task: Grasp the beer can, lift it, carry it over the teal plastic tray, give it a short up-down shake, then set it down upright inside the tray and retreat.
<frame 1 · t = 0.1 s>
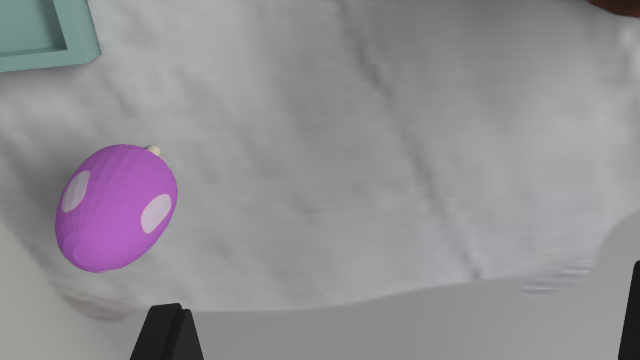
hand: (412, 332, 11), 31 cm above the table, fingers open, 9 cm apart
toy: (154, 150, 43), on the table
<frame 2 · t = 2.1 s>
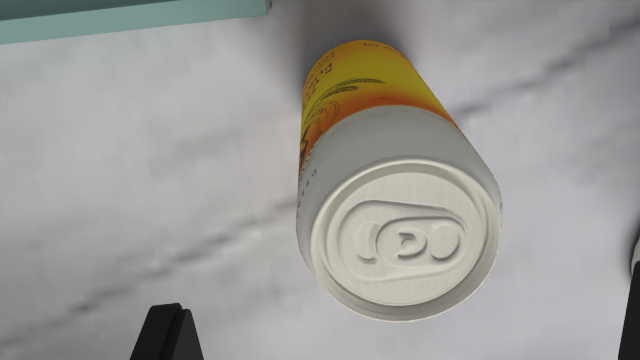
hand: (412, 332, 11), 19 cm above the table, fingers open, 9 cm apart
beer can: (359, 94, 29), on the table
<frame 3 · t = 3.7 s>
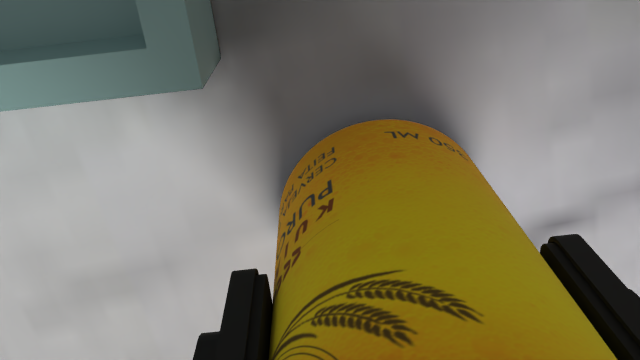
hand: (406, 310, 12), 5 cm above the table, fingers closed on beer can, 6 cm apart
beer can: (377, 200, 17), on the table, touching gripper
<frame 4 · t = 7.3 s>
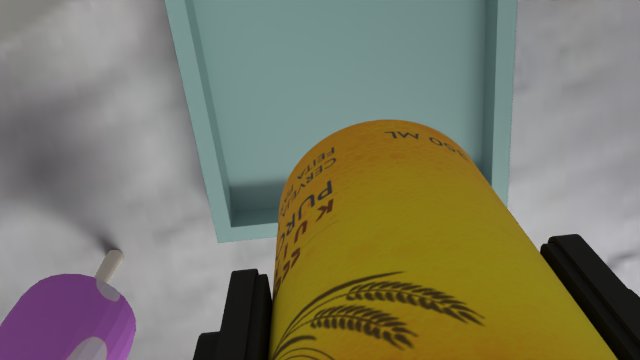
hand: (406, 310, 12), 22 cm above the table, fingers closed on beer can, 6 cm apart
toy: (116, 255, 37), on the table
beer can: (377, 200, 17), point 17 cm above the table, touching gripper
tray: (345, 73, 32), on the table
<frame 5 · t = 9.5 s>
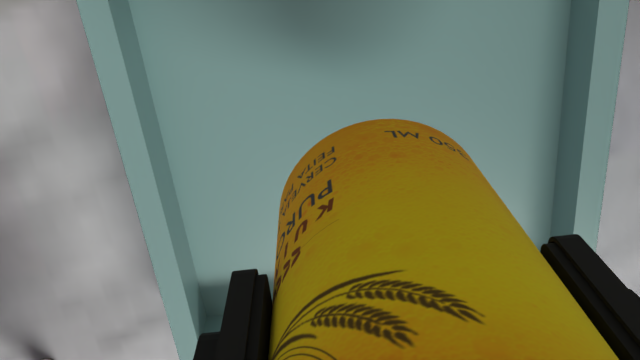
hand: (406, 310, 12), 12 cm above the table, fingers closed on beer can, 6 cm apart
beer can: (377, 200, 17), point 6 cm above the table, touching gripper
tray: (360, 132, 23), on the table
when the fingers open (6 cm above the table, at t = 11.1 s): beer can stays where it is, resting on tray.
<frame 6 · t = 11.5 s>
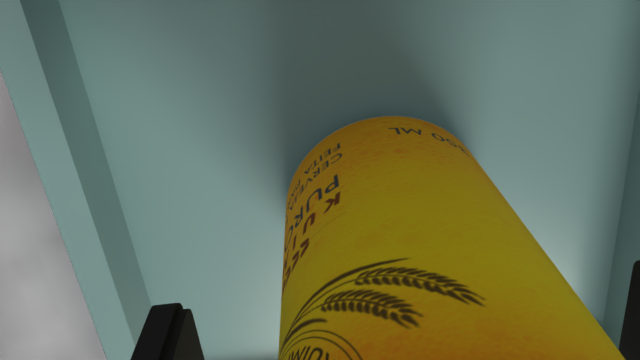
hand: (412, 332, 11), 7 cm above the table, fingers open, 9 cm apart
beer can: (381, 195, 17), point 1 cm above the table, touching tray
tray: (371, 182, 18), on the table
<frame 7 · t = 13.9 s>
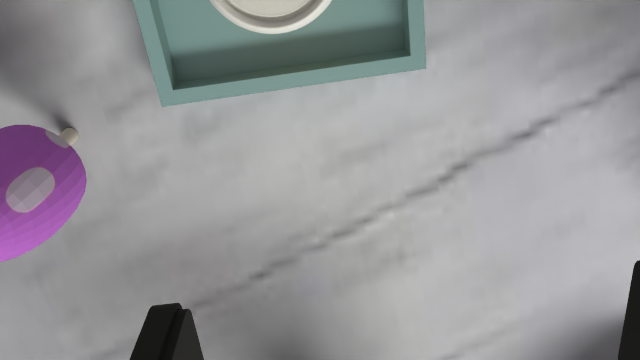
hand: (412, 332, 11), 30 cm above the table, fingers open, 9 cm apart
toy: (71, 134, 40), on the table
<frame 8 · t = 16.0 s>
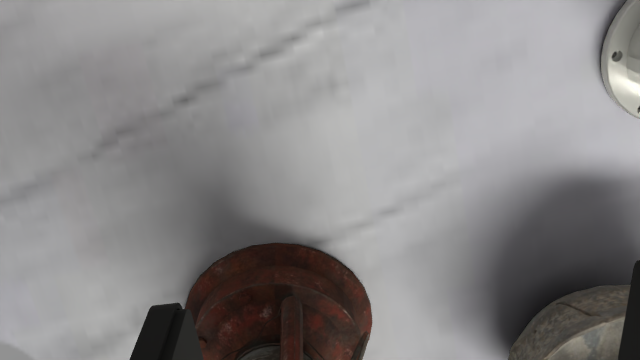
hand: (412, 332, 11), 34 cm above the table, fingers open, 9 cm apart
bowl: (578, 326, 56), on the table
lantern: (279, 321, 55), on the table
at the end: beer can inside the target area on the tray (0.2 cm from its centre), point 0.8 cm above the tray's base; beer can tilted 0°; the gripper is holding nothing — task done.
